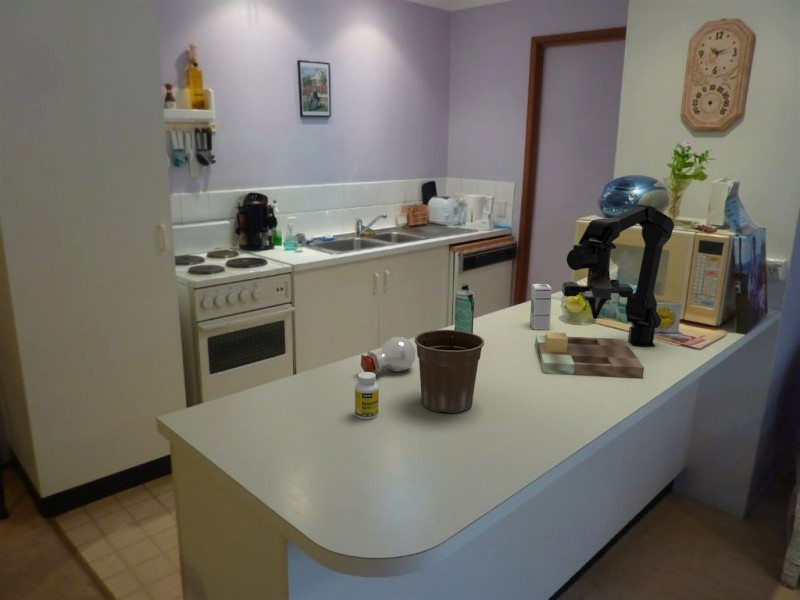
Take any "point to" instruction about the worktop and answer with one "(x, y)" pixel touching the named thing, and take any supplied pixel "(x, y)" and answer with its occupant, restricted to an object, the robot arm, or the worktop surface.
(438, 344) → the plant pot
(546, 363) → the trap board
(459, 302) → the spray can
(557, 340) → the ochre block
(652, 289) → the robot arm
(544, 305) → the syrup box
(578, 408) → the worktop surface
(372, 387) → the supplement bottle
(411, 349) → the potion bottle
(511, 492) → the worktop surface
